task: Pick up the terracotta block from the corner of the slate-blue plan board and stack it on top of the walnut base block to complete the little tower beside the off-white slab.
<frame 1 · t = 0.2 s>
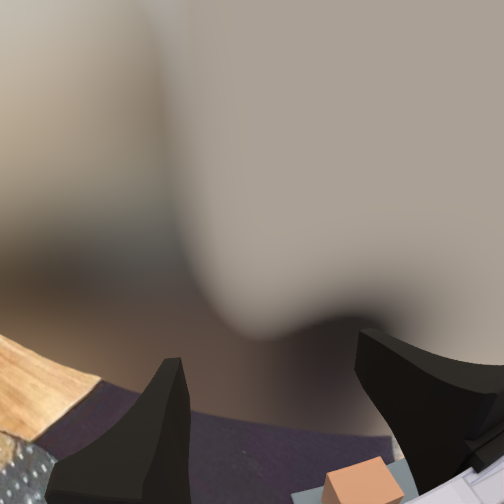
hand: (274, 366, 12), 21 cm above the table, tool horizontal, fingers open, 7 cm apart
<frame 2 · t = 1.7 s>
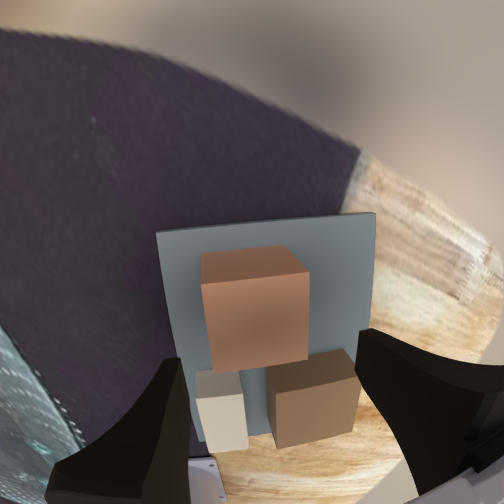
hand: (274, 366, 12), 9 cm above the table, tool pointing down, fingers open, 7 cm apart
plan board: (276, 344, 22), on the table
terracotta block: (245, 287, 20), point 1 cm above the table, touching plan board
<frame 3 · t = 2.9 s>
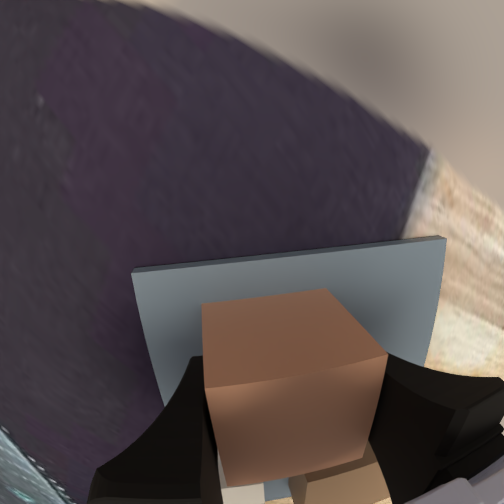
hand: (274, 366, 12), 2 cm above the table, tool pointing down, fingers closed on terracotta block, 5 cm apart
plan board: (305, 411, 15), on the table
terracotta block: (268, 349, 13), point 1 cm above the table, touching gripper, plan board
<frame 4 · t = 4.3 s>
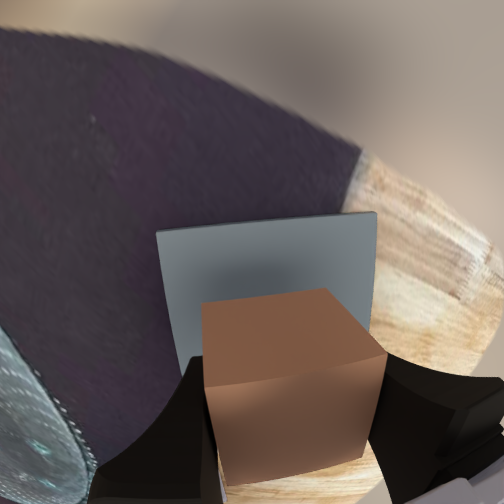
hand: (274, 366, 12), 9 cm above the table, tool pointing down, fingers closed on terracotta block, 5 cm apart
plan board: (277, 344, 22), on the table
terracotta block: (268, 348, 13), point 8 cm above the table, touching gripper
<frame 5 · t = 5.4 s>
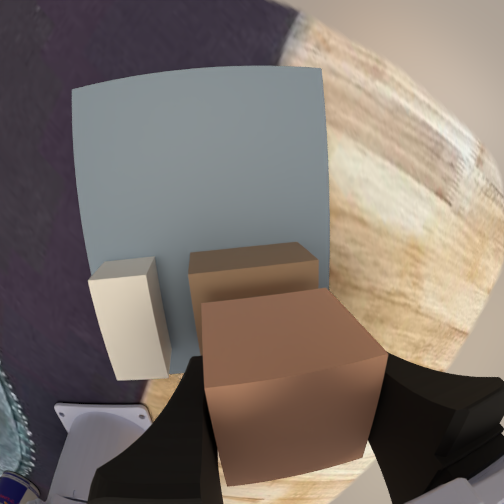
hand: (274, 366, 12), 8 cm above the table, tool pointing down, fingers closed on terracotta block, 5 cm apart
energy drink: (22, 481, 22), on the table
plan board: (206, 230, 18), on the table
terracotta block: (268, 348, 13), point 6 cm above the table, touching gripper
when the fingers open (6 cm above the table, at t = 6.1 s): terracotta block stays where it is, resting on plan board.
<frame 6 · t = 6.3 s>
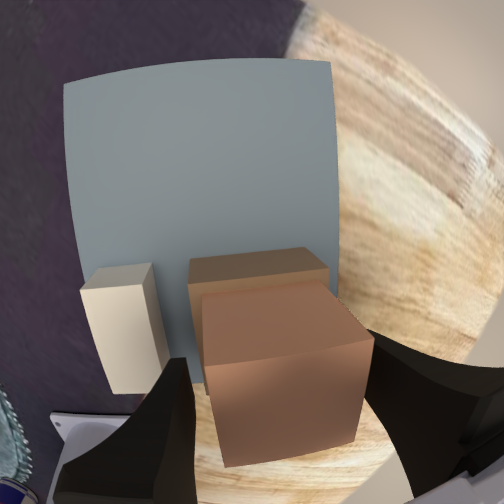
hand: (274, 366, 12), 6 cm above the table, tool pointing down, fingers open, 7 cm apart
energy drink: (19, 487, 21), on the table
plan board: (207, 234, 16), on the table
terracotta block: (264, 337, 14), point 4 cm above the table, touching plan board
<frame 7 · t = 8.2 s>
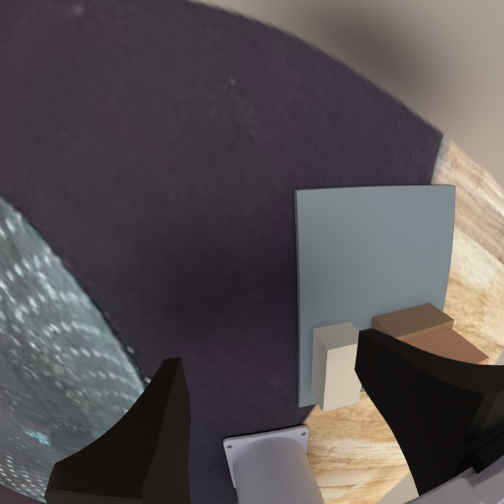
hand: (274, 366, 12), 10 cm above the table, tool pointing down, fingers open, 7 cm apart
plan board: (380, 300, 24), on the table
terracotta block: (420, 360, 21), point 4 cm above the table, touching plan board
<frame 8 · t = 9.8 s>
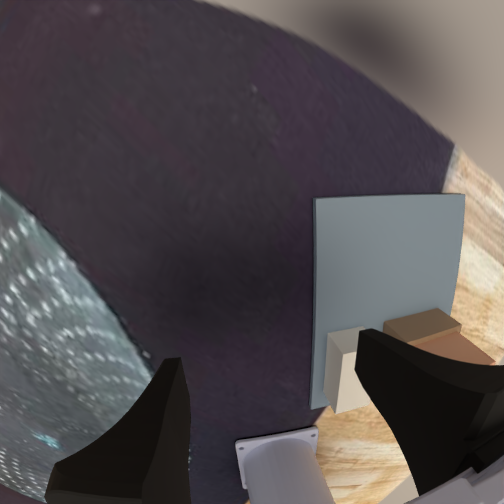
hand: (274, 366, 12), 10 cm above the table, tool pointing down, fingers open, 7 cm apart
plan board: (391, 305, 24), on the table
terracotta block: (428, 364, 21), point 4 cm above the table, touching plan board
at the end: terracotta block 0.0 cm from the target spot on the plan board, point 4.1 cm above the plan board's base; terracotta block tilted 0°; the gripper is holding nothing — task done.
